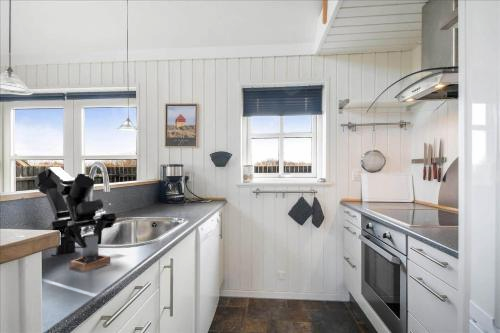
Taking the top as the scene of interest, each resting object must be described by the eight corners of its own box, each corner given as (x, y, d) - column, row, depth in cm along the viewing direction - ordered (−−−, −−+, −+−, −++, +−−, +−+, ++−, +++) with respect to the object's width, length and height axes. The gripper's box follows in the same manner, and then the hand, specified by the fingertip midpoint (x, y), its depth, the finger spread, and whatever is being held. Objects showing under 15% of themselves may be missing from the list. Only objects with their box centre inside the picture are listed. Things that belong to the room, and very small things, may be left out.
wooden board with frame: (64, 269, 82) (64, 260, 82) (109, 253, 96) (109, 246, 96) (88, 275, 77) (88, 266, 77) (132, 258, 91) (132, 251, 91)
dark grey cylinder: (81, 263, 83) (80, 235, 83) (96, 259, 86) (96, 233, 86) (84, 266, 80) (84, 238, 80) (100, 263, 83) (100, 235, 83)
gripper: (50, 194, 78) (63, 236, 72) (114, 189, 93) (130, 224, 86) (43, 217, 83) (54, 259, 76) (104, 209, 98) (118, 244, 91)
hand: (92, 245), depth 83 cm, fingers closed on dark grey cylinder, 4 cm apart
